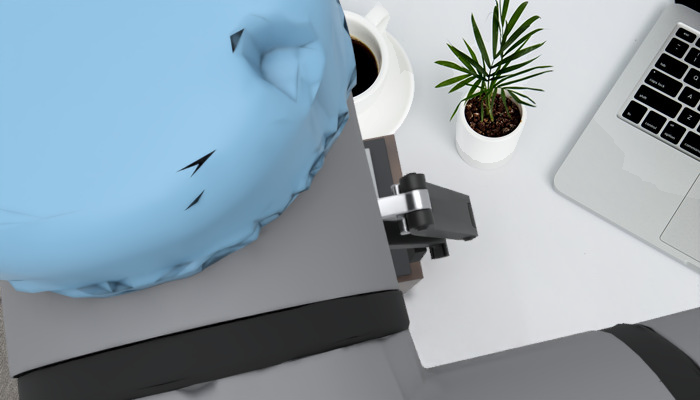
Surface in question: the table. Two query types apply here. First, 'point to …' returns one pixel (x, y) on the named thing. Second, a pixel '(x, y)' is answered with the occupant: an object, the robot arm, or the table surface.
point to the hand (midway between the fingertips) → (317, 261)
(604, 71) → the table surface
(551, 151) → the table surface
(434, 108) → the table surface
